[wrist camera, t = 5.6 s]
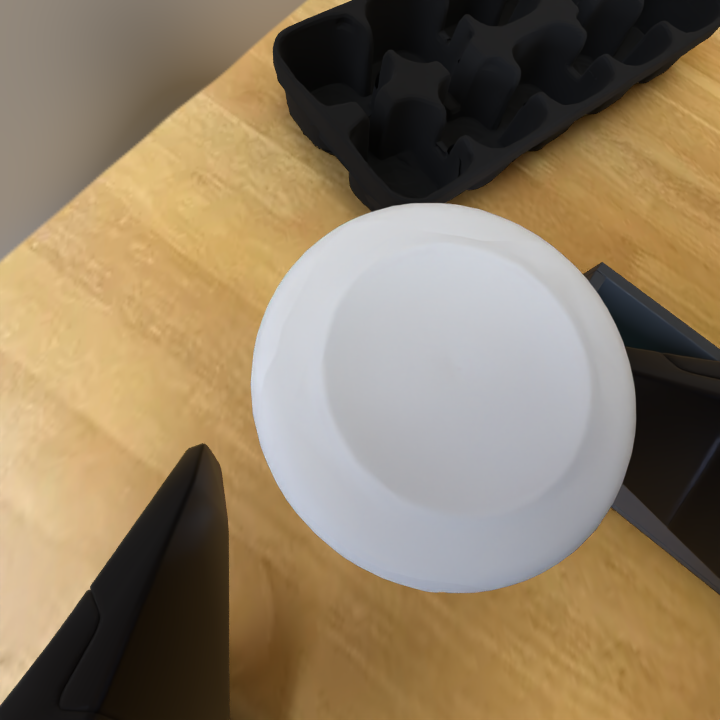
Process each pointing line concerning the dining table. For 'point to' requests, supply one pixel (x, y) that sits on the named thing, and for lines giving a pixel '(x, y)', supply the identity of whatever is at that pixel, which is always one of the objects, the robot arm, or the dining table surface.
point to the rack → (665, 335)
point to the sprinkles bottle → (443, 398)
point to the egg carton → (467, 81)
